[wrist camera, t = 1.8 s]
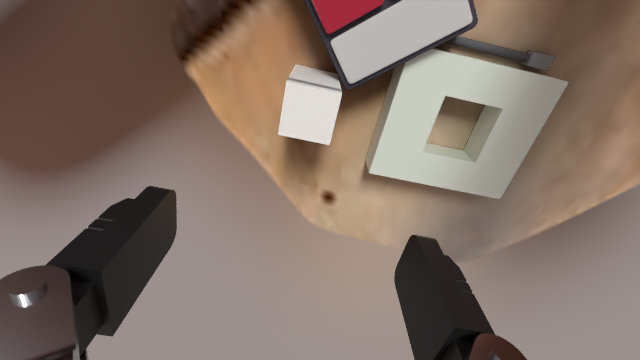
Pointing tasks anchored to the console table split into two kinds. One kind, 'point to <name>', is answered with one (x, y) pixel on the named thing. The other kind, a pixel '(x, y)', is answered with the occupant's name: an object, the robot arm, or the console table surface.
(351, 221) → the console table surface
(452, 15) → the dark grey product box
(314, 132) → the white rectangular block
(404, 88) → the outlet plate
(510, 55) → the cable
